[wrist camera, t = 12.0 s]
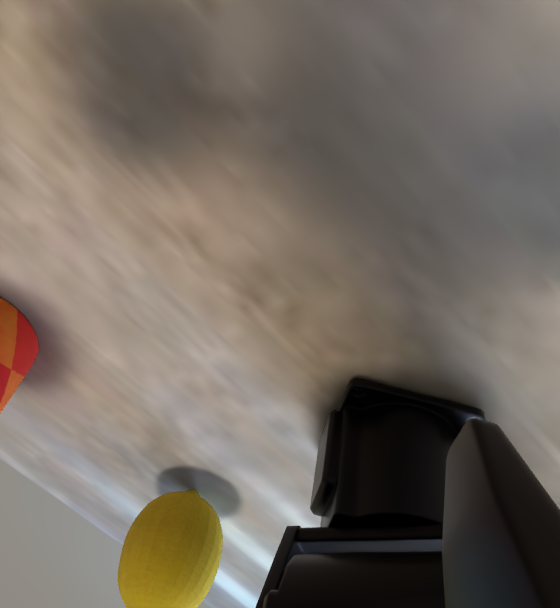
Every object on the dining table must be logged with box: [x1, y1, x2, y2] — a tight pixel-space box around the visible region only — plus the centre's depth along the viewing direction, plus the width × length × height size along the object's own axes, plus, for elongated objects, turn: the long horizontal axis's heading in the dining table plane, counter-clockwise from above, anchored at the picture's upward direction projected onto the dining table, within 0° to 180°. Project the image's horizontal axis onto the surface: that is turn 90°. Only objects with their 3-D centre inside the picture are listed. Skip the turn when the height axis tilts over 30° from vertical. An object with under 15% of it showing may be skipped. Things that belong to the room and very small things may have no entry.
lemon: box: [118, 489, 223, 608], centre depth 30 cm, size 6×6×8 cm
